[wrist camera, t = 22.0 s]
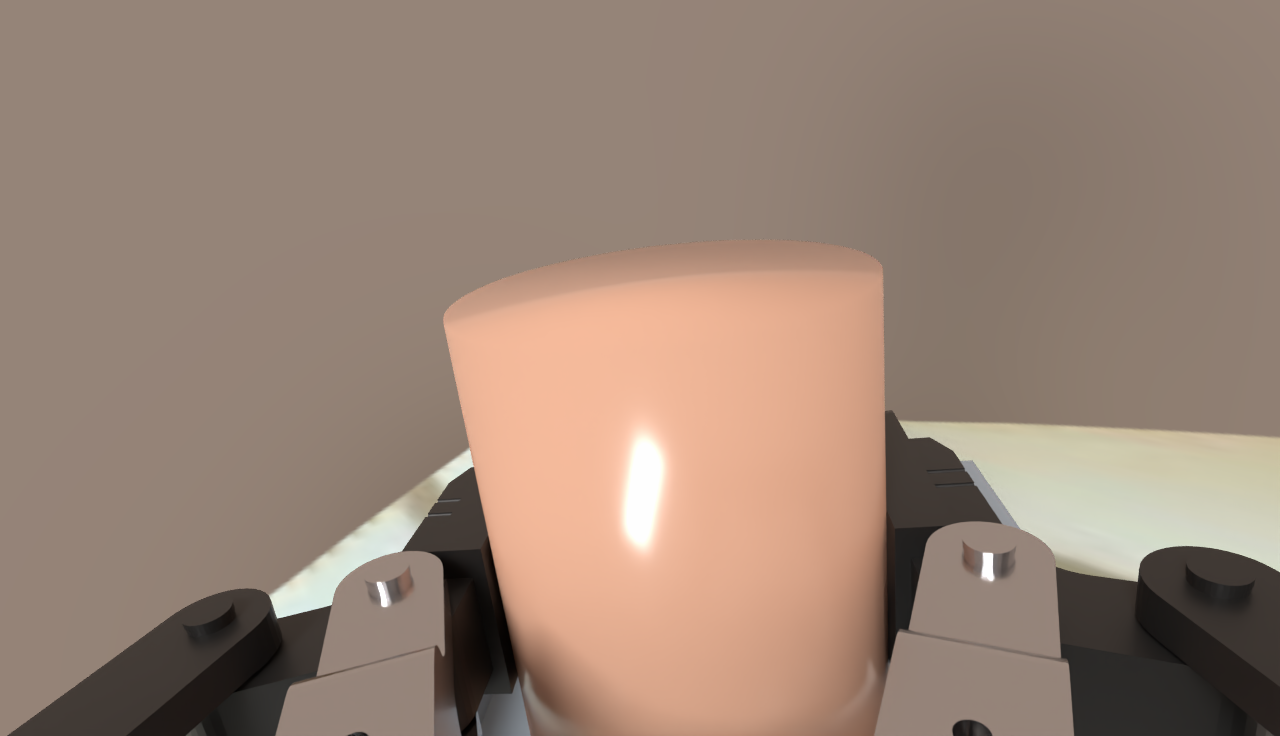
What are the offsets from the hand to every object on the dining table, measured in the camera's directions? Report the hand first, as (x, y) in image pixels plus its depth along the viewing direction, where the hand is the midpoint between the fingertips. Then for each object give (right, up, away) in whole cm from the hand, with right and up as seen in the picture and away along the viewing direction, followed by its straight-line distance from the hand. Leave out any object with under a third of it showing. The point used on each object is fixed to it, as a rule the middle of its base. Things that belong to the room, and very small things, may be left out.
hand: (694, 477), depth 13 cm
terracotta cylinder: (0, -7, -1) cm, 7 cm away
